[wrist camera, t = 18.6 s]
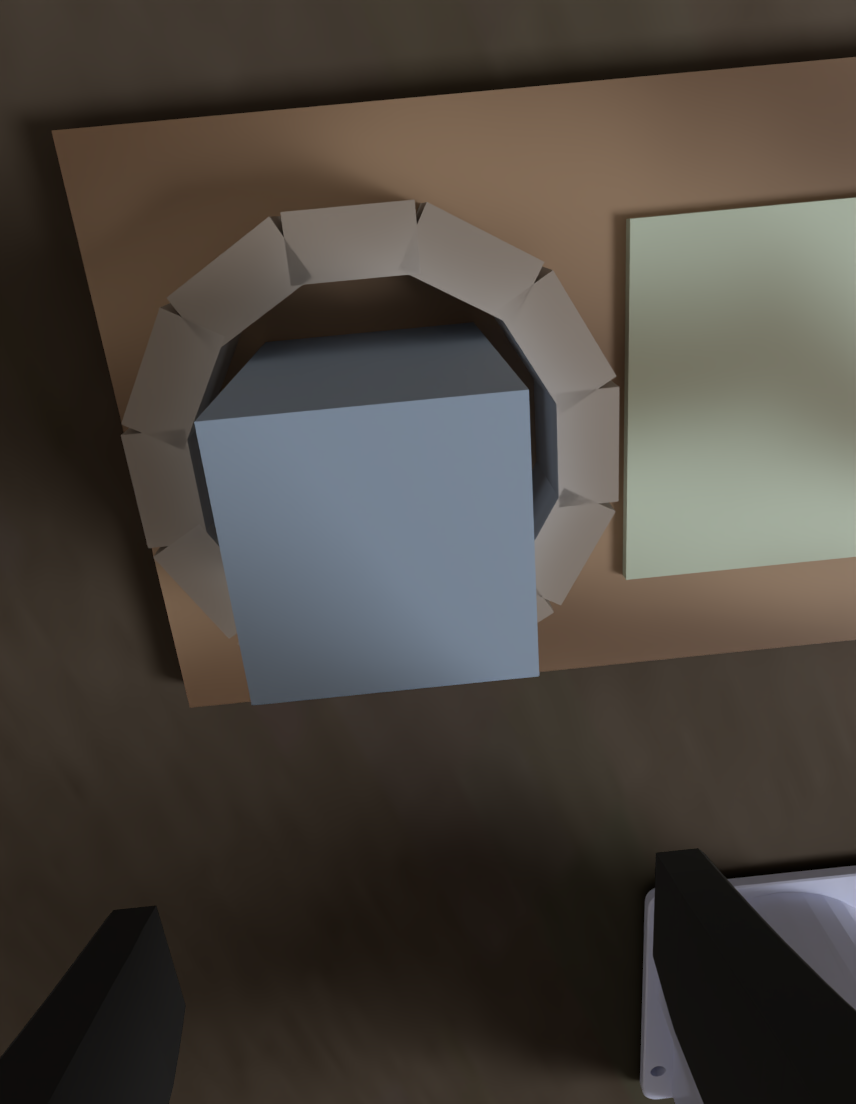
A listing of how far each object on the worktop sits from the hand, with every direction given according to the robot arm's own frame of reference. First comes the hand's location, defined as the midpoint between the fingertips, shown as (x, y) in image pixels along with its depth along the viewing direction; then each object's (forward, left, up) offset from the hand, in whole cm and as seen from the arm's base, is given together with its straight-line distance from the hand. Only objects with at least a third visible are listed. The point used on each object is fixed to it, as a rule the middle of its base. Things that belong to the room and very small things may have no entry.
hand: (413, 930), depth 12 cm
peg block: (+5, 0, -9) cm, 10 cm away
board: (+5, -5, -10) cm, 12 cm away
